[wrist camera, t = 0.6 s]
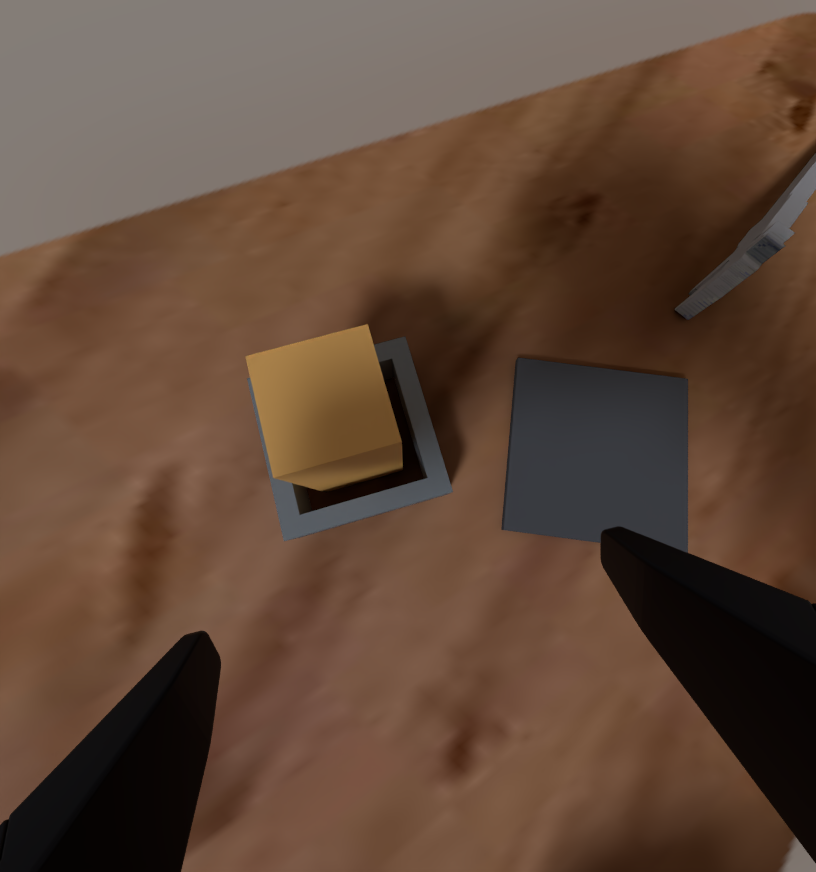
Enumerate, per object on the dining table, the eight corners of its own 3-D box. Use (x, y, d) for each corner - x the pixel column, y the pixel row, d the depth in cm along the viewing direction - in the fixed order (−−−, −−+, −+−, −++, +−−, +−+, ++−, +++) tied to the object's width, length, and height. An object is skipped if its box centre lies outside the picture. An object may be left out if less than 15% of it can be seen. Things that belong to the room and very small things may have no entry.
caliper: (681, 326, 25) (770, 266, 19) (667, 315, 26) (751, 252, 19) (856, 127, 28) (983, 19, 22) (843, 117, 28) (965, 8, 22)
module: (402, 470, 23) (401, 441, 14) (326, 492, 23) (273, 477, 14) (381, 397, 24) (367, 324, 15) (307, 417, 24) (245, 356, 15)
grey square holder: (446, 494, 23) (452, 491, 20) (299, 537, 23) (284, 541, 20) (405, 357, 25) (405, 336, 22) (266, 395, 24) (247, 378, 21)
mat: (681, 553, 23) (687, 554, 22) (501, 529, 23) (503, 529, 22) (682, 381, 24) (687, 379, 24) (515, 360, 25) (517, 357, 24)
